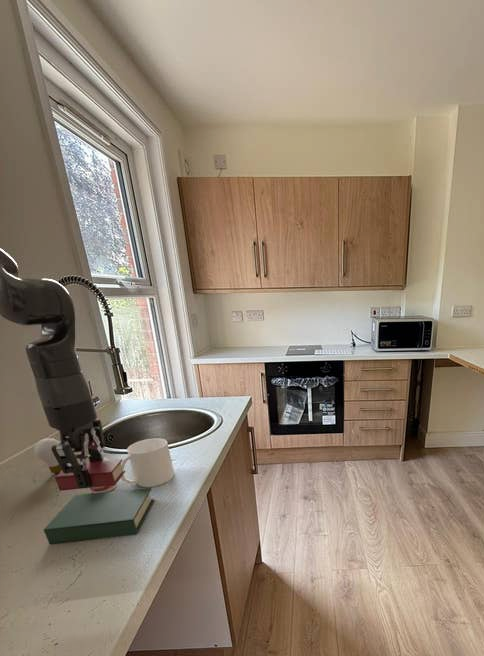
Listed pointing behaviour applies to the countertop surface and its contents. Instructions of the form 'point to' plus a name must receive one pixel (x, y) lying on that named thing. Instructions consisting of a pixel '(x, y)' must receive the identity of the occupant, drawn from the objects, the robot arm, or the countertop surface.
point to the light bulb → (48, 454)
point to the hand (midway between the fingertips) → (93, 478)
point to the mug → (149, 462)
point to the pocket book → (94, 475)
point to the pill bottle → (104, 488)
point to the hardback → (100, 516)
